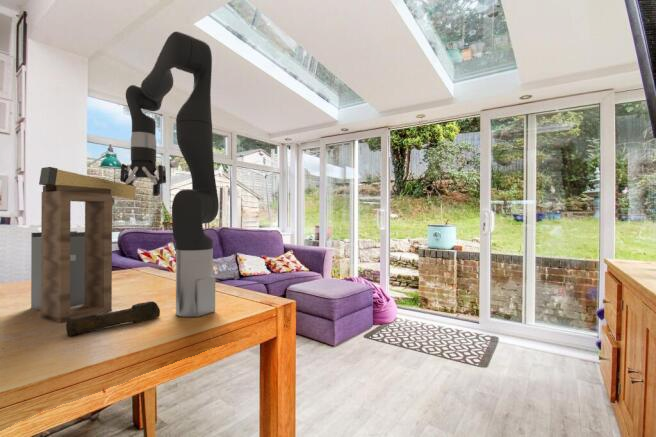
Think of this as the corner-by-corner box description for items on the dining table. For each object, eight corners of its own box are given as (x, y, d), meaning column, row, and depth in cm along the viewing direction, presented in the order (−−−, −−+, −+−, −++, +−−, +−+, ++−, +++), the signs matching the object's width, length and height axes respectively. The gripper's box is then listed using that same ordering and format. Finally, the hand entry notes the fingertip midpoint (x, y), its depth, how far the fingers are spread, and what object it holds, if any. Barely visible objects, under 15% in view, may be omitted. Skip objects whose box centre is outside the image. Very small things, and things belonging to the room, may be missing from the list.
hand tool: (67, 339, 69) (67, 317, 69) (65, 334, 72) (65, 313, 72) (163, 320, 82) (163, 302, 82) (157, 317, 85) (157, 299, 85)
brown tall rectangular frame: (111, 310, 90) (112, 188, 90) (60, 323, 79) (61, 184, 79) (92, 306, 93) (92, 189, 93) (41, 318, 83) (41, 186, 83)
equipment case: (91, 302, 98) (91, 232, 98) (47, 312, 88) (47, 233, 88) (75, 299, 102) (75, 231, 101) (31, 308, 92) (31, 232, 92)
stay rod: (134, 199, 98) (136, 185, 98) (47, 183, 79) (49, 166, 79) (126, 199, 100) (128, 186, 100) (38, 184, 80) (41, 167, 81)
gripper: (115, 145, 106) (115, 194, 107) (158, 146, 106) (158, 195, 107) (129, 149, 114) (129, 195, 114) (170, 150, 114) (169, 196, 114)
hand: (143, 195), depth 111 cm, fingers open, 8 cm apart
